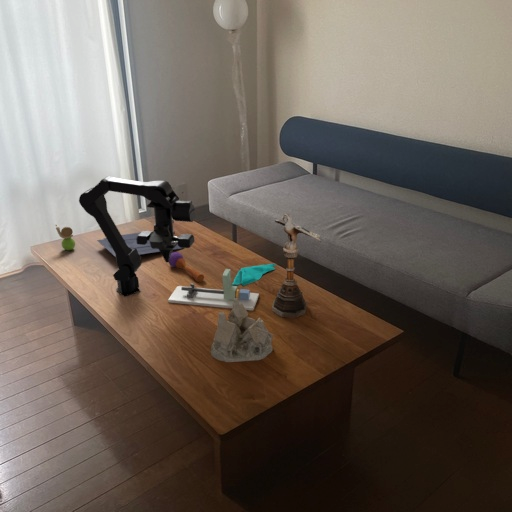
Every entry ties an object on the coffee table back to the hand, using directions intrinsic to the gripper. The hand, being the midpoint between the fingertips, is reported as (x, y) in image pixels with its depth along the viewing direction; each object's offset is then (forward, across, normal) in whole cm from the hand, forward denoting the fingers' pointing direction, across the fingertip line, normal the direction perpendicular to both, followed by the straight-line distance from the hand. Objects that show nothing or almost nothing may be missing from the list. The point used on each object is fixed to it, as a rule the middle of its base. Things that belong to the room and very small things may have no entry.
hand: (167, 261), depth 176 cm
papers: (+13, -27, +36) cm, 47 cm away
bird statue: (+13, +44, +1) cm, 45 cm away
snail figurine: (+13, -56, +28) cm, 64 cm away
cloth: (+14, +25, +21) cm, 36 cm away
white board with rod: (+13, +16, 0) cm, 21 cm away
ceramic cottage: (+13, +32, -27) cm, 44 cm away
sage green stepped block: (+12, +22, 0) cm, 25 cm away
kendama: (+14, 0, +18) cm, 22 cm away
